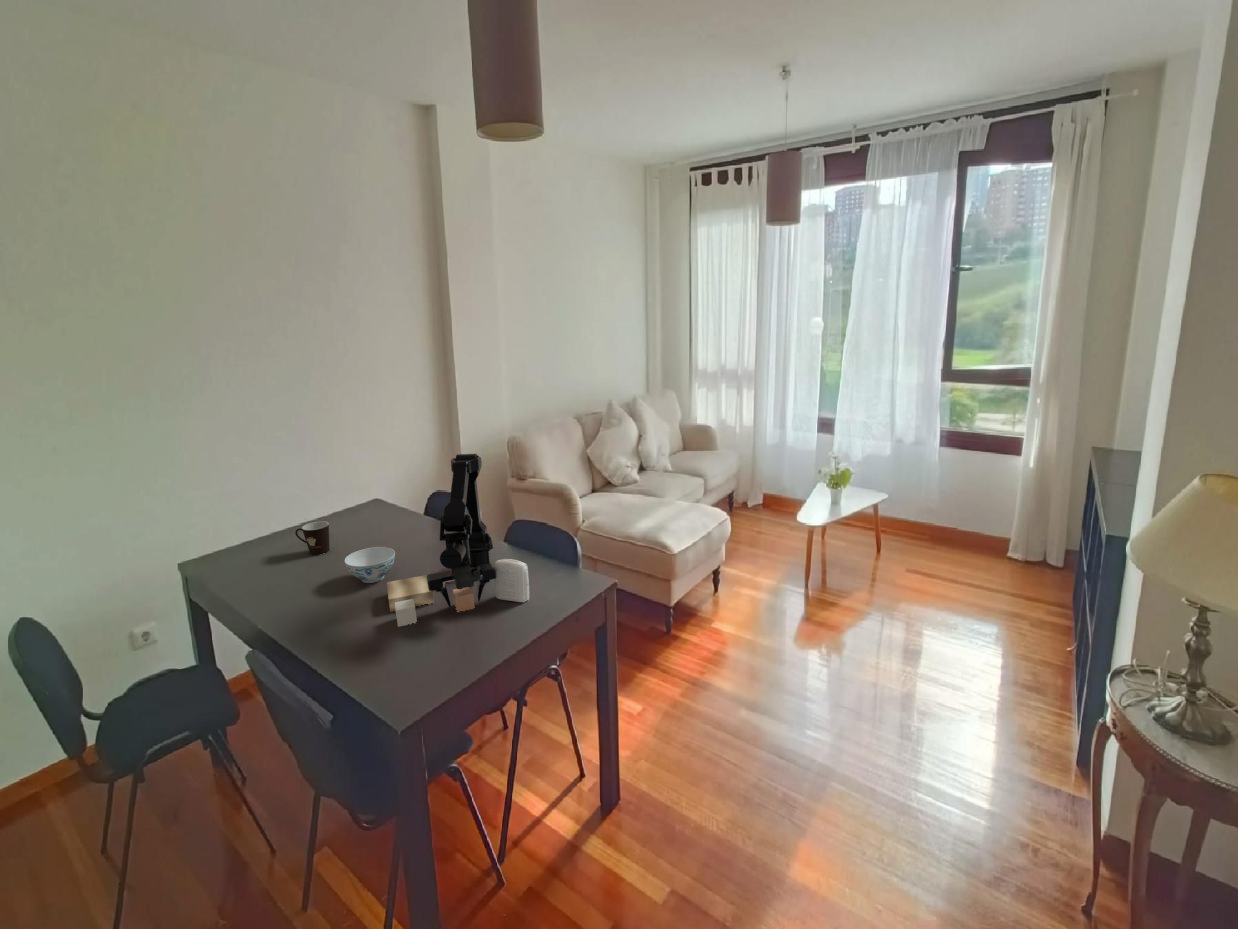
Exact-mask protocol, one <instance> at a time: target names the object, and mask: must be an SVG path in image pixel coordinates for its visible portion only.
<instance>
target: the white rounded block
mask: <svg viewBox="0 0 1238 929" xmlns="http://www.w3.org/2000/svg"><path fill="white" fill-rule="evenodd" d="M493 566H494V568H495V571H496V578H495V579H494V586H495V597H496V599H498V600H503V601H510V602H511V601H512V602H516V603H526V602H525V601H527V600H528V601H529V600H530V582H529V567H528V564H527V563H525V562H523V561H520V560H517V559H512V558H502V559H497V560H496V561H495V562H494V565H493ZM528 601H527V602H528Z"/></svg>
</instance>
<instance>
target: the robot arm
mask: <svg viewBox="0 0 1238 929" xmlns="http://www.w3.org/2000/svg"><path fill="white" fill-rule="evenodd" d="M482 465H483V464H482V457H480V456H479V455H478V454H477V453H463V454H461V453H460V454H459V453H458V454H456V455H455V457H453V458H451V459H450V467H451V472H452V480H451V488H450V496H449V502H448V503H447V504H446V505H445V506H444V508H443V513H442V515H441V517H440V524H439V525H440V528H439V542H440V541H441V542H442V541H443V542H444V541H445V545H444V548H443V550H442V552H441V553H440V554H439V555H440V556H439V562H440V564H441V565H442V566H443V567H444V568H446V569H448V570H450V574H447V575H442V573H441V571H439V572H435V573H429V574H426V575H427V577H426V578H427V585H428V589H429V591H432V592H434V591H435V592H437V593H441V595H442V596H443V597H444V600H445V602H446V604H447V606H448V608H451V607H452V606H451V600H450V596H449V592H448V589H447V586H446V583H447V584H448V583H451V582H454V584H455V589H463V588H467V587H471V588H472V587H474V585H475V582H476V598H477V602H480V601H481V598H482V594H483V591H484V587H485V585H486V584H487V583H490V582H491V580H495V578H496V571H495V568H494V565H493V563H491V561H490V552H491V550H493V549H494V544H493V539H492V537H491V535H490V533H489V532H488V528H487V527H488V526H487V525H486V524H485V523H484V522H483V520H482V518H481V510H480V502H479V501H480V500H479V492H478V481H477V479H478V477H479V474H480V472H481V469H482V467H483V466H482Z"/></svg>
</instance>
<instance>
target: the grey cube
mask: <svg viewBox="0 0 1238 929" xmlns="http://www.w3.org/2000/svg"><path fill="white" fill-rule="evenodd" d="M395 609H396V611H395V614H396V616H395V617H396V623H397V628H399V627H404V626H408V624H409V625H413V624H412V623H414V624H417V623H418V620H417V613H416V607H415V604H414V599H410V600H405V601H400V602H395ZM416 622H417V623H416Z"/></svg>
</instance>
